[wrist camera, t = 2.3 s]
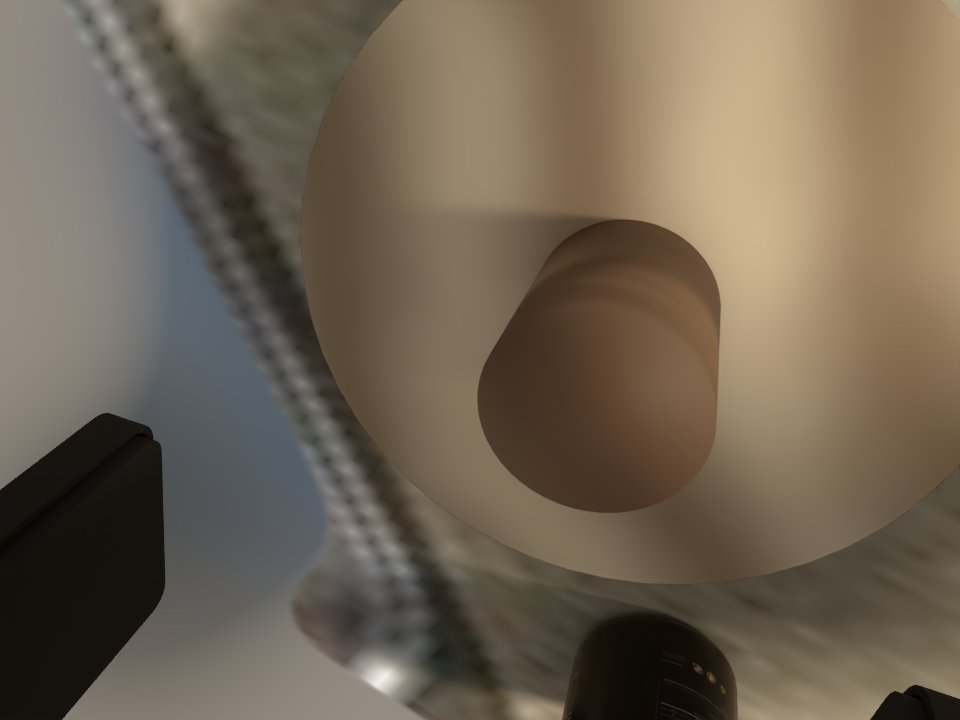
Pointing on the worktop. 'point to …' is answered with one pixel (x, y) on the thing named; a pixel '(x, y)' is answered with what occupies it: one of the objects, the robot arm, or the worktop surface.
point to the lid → (649, 271)
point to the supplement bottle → (650, 674)
